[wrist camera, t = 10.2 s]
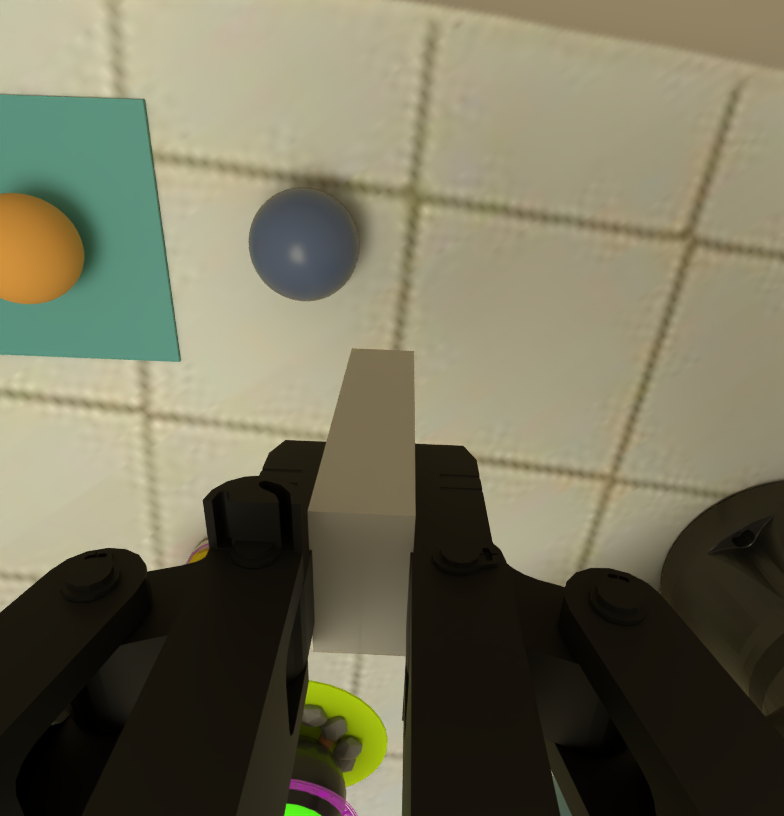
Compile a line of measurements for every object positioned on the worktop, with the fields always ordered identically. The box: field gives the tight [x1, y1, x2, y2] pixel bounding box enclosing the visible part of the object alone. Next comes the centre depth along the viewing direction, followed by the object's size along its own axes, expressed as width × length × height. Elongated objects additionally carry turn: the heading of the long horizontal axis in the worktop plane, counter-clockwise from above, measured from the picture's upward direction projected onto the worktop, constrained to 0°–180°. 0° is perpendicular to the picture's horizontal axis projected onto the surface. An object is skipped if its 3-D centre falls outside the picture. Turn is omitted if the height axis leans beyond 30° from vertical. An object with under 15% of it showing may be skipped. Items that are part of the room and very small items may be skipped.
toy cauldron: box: [284, 680, 387, 816], centre depth 45 cm, size 15×15×11 cm
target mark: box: [0, 95, 181, 362], centre depth 32 cm, size 14×14×1 cm
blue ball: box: [249, 188, 359, 301], centre depth 29 cm, size 6×6×6 cm
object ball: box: [0, 193, 84, 304], centre depth 30 cm, size 6×6×6 cm
